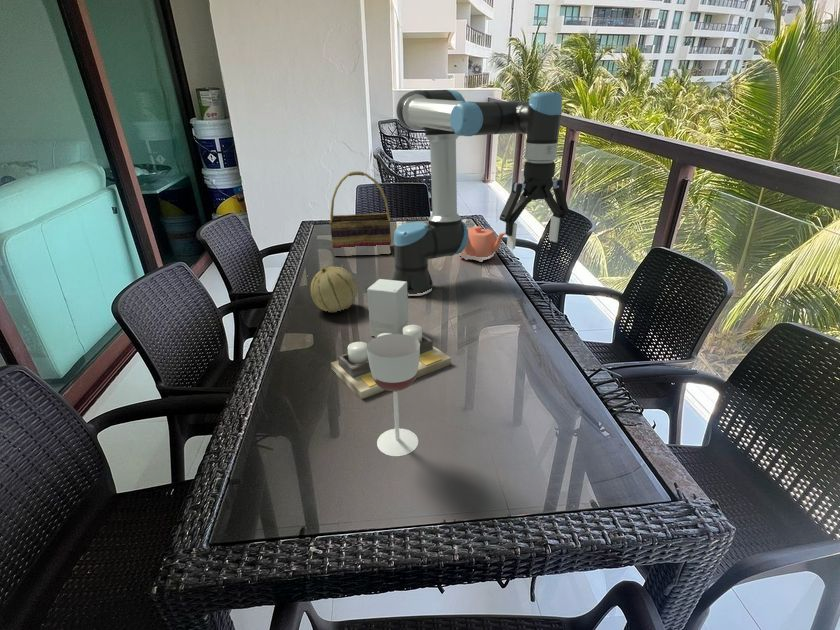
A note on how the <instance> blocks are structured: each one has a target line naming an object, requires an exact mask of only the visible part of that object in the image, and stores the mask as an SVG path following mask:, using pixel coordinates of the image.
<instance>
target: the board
mask: <svg viewBox="0 0 840 630" xmlns="http://www.w3.org/2000/svg"><path fill="white" fill-rule="evenodd" d="M433 343H434V341H433V340H432V339H430V338H429V337H427V336H426V335H424V334H422V342H421V343H420V356H419V365H418V370H417V375H416V378H415V379H417V378H420V377H422V376H425V375H429V374H430V373H433V372H436V371H437V370H441V369H443V368H445V367H448V366H450V365H451V364H452V358H451V356H449V355H447V354H446V353H445V352H443V351H442V350H440V349H438V348H437V347H435V346H434V344H433ZM330 368H331V369H332V370H333V371H334V372H335V373H336V374H335V373H334V372H333V371H332V372H333V373H334V374H335V375H336V376H337V377H338V378H339V379H340V380H341V381H342V382H343V383H344V384H345V385H347V387H348V388H349V389H350V390H351V391H352V392H353V393H354V394H355V395H356V396H357V397H358V398H360V400H363V399H366V398H369V397H372V396H375V395H376V394H379V393H382V392H384V391H386V390H385V389H382V388H381V387H379V386H378V385H377V384H376V383H375V381H374V379H373V376H372V373H371V370H370V366H369V360H368V361H367V362H366V363H363V364H352V363H350V362H349V358H348V352H347V353H344V354H340V355H338V356H337V360H335V361H332V362H330Z"/></svg>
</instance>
